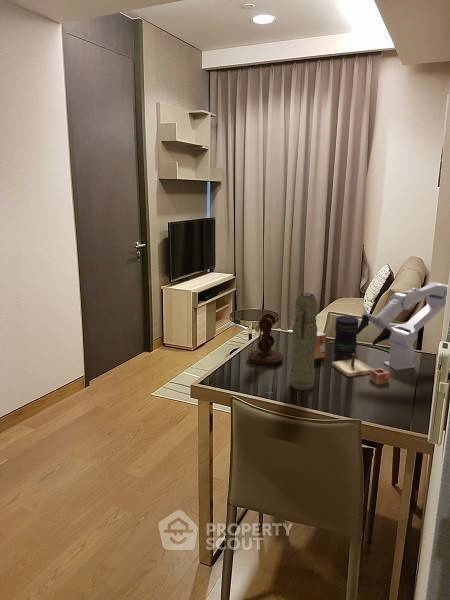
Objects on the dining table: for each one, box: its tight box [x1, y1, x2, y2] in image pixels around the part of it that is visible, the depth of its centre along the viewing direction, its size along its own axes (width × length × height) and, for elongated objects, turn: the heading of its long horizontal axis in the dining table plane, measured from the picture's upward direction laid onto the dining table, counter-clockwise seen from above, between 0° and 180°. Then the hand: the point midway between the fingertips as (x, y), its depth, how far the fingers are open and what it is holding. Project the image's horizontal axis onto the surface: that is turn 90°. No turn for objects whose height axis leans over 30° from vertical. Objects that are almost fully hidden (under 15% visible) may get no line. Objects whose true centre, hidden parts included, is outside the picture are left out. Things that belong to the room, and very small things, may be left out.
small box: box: [314, 330, 327, 360], centre depth 202 cm, size 8×6×10 cm
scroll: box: [248, 313, 284, 368], centre depth 196 cm, size 15×15×20 cm
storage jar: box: [333, 315, 359, 355], centre depth 209 cm, size 10×10×15 cm
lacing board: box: [331, 353, 374, 378], centre depth 190 cm, size 12×12×6 cm
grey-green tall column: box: [289, 292, 318, 391], centre depth 171 cm, size 9×12×35 cm
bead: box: [368, 367, 390, 385], centre depth 179 cm, size 5×5×4 cm
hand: (365, 338), depth 180 cm, fingers open, 7 cm apart
